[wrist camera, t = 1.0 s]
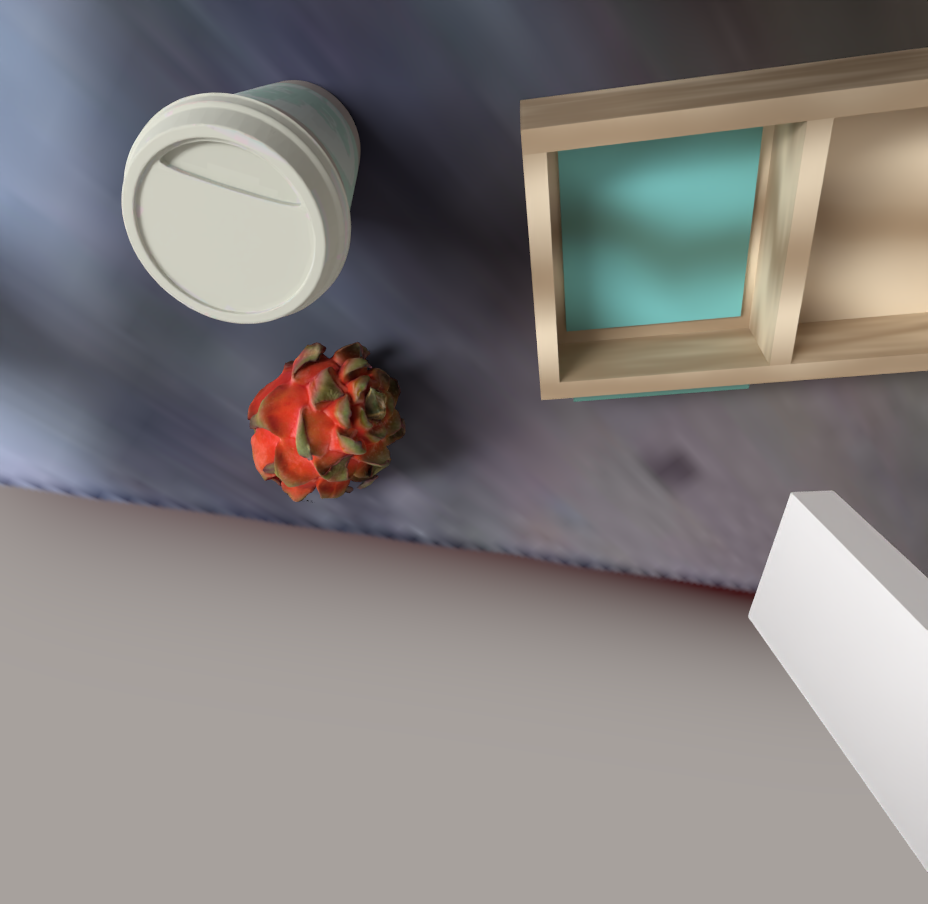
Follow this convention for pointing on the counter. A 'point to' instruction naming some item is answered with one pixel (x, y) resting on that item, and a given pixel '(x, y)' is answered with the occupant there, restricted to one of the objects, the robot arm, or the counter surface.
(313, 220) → the coffee cup
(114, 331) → the counter surface
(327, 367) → the dragon fruit
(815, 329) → the wooden compartment tray
